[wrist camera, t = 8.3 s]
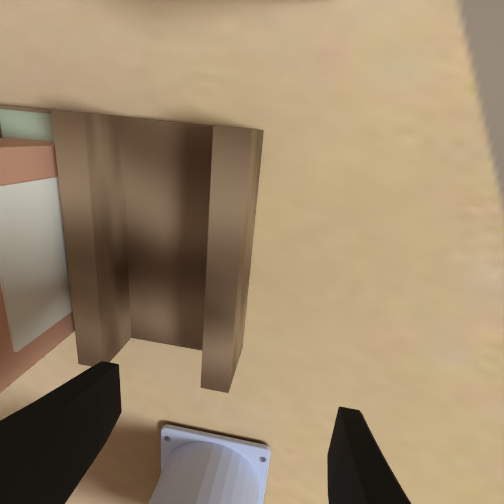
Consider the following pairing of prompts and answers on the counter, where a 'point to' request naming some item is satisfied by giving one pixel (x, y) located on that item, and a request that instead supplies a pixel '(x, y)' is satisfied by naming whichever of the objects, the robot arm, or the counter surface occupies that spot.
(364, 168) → the counter surface
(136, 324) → the rack
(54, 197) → the pink rectangular block
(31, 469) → the robot arm
